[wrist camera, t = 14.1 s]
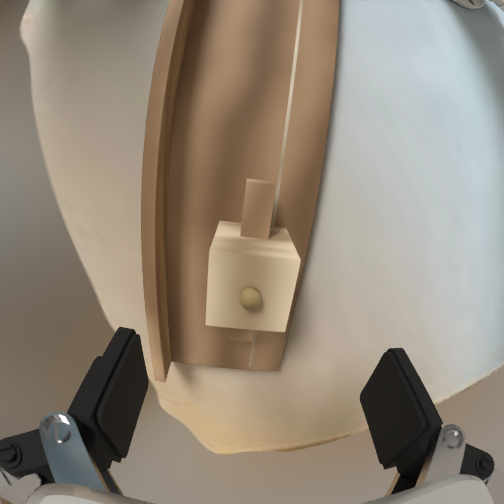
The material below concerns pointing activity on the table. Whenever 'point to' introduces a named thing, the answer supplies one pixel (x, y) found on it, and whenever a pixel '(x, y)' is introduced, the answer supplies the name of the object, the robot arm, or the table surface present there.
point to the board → (229, 157)
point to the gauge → (251, 269)
